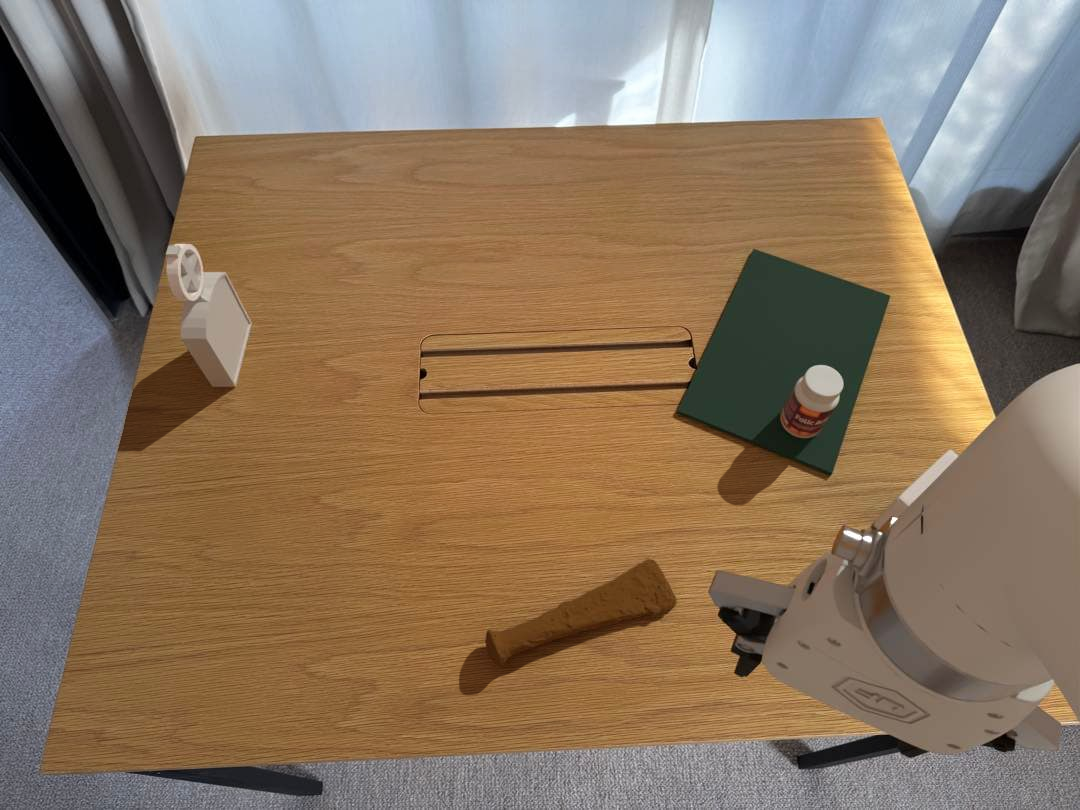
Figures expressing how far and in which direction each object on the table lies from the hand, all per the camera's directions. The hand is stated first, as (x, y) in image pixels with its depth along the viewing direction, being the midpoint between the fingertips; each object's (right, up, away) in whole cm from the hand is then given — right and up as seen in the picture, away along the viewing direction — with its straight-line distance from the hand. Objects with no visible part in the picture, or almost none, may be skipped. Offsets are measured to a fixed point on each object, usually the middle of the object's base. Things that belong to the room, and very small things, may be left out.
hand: (825, 690), depth 45 cm
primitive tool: (-13, -4, +31) cm, 34 cm away
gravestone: (-54, +23, +48) cm, 75 cm away
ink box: (+21, +3, +35) cm, 41 cm away
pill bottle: (+13, +15, +42) cm, 46 cm away
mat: (+13, +23, +48) cm, 55 cm away
